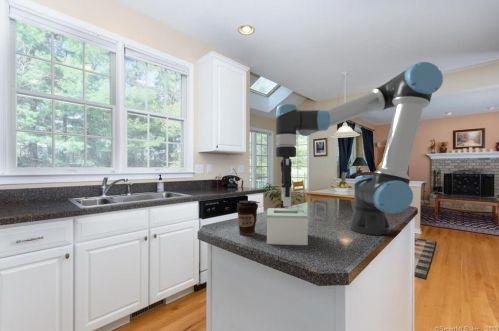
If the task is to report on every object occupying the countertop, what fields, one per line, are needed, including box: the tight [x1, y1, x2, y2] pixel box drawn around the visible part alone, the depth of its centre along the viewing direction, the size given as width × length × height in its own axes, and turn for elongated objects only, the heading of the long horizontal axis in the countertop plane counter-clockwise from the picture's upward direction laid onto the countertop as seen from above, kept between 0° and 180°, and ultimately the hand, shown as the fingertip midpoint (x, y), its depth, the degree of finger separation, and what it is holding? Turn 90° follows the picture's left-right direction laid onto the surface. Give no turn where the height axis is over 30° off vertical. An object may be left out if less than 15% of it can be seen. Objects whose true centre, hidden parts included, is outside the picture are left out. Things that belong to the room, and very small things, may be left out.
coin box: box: [266, 207, 309, 246], centre depth 90 cm, size 14×14×10 cm
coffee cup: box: [236, 200, 259, 236], centre depth 96 cm, size 9×8×13 cm
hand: (285, 203), depth 90 cm, fingers open, 13 cm apart
